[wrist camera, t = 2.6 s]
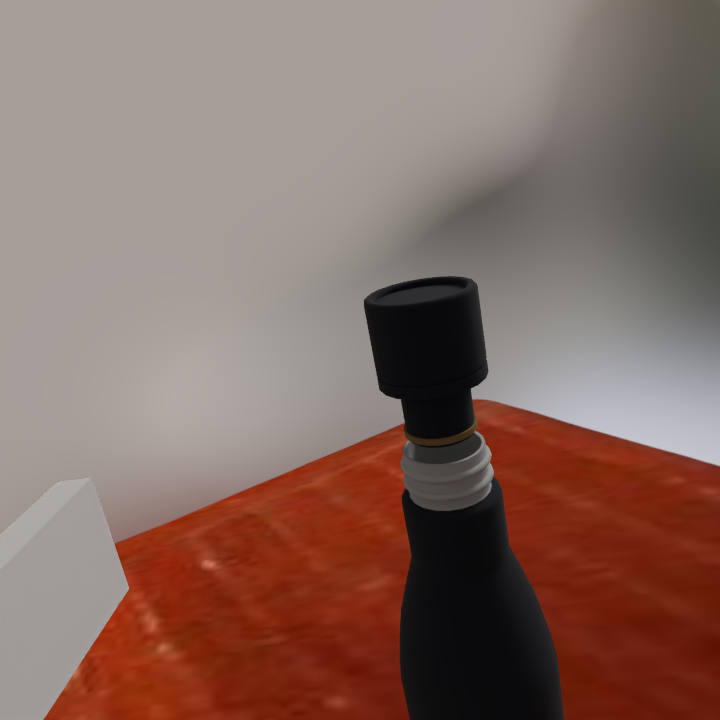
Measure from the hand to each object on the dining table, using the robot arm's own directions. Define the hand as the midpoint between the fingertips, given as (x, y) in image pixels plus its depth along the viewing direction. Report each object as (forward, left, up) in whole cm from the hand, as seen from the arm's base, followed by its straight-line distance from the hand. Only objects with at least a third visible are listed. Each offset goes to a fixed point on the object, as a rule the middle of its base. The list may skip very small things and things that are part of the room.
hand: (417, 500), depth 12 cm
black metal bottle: (-9, -4, -28) cm, 30 cm away
